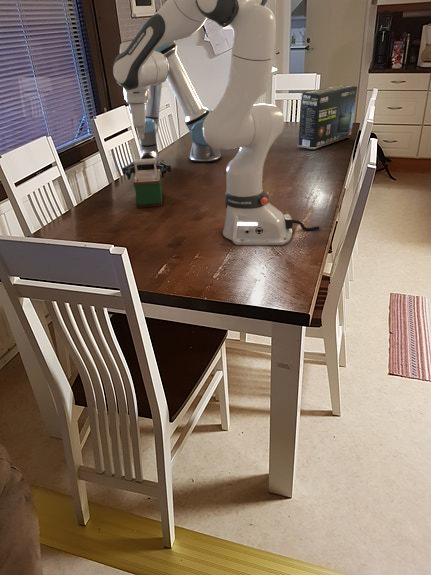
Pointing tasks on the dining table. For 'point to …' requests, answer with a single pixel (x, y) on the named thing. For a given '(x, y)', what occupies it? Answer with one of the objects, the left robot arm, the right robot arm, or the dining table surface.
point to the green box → (149, 195)
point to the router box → (326, 115)
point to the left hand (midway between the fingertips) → (145, 175)
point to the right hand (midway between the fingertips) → (142, 135)
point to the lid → (146, 173)
